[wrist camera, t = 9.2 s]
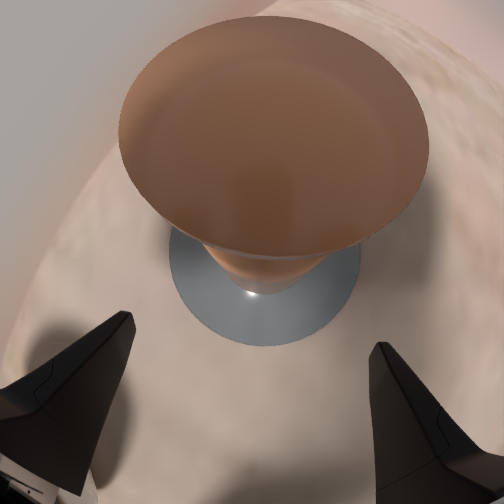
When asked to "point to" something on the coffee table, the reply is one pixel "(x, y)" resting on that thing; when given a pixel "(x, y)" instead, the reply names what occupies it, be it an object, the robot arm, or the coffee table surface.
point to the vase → (273, 144)
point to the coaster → (260, 295)
